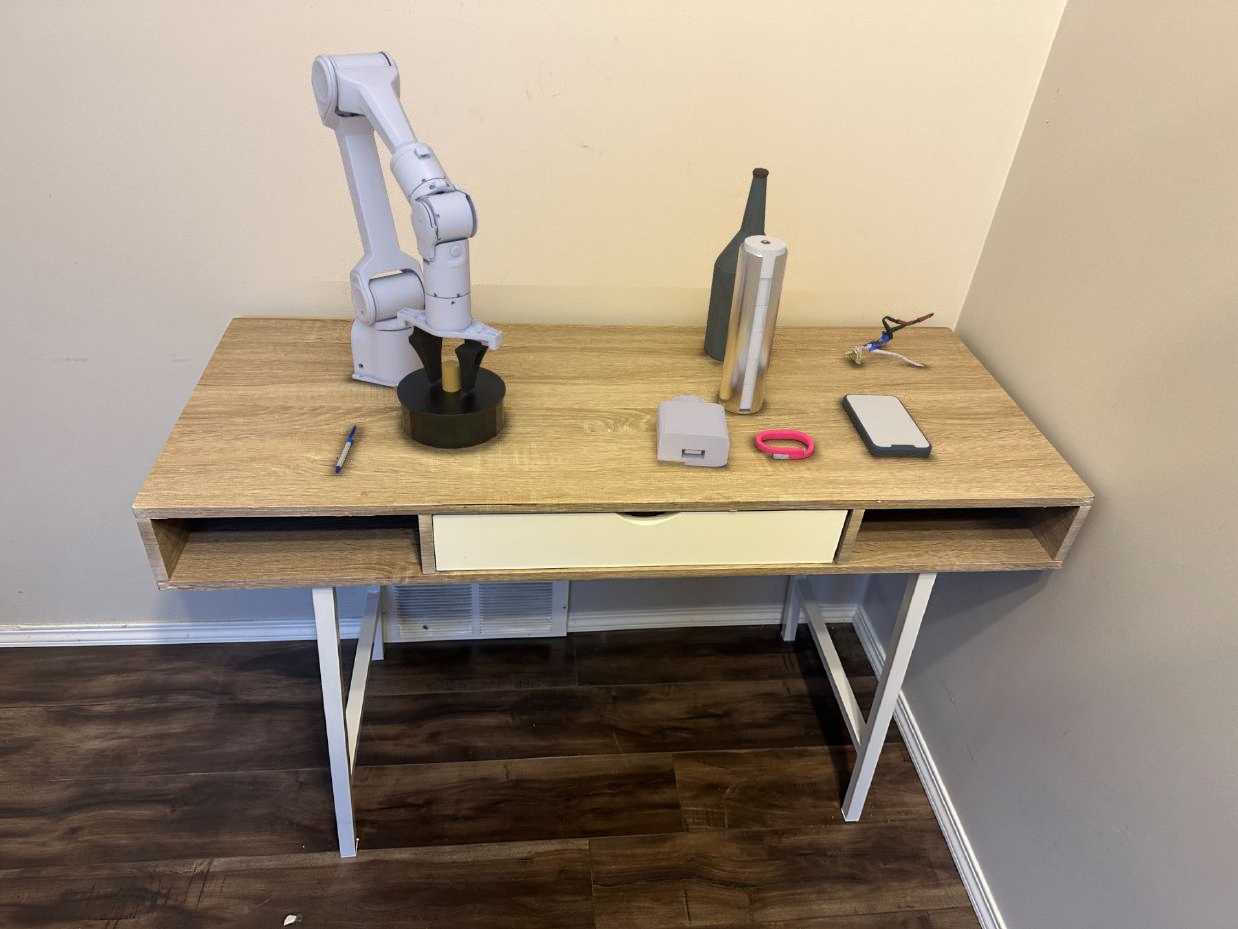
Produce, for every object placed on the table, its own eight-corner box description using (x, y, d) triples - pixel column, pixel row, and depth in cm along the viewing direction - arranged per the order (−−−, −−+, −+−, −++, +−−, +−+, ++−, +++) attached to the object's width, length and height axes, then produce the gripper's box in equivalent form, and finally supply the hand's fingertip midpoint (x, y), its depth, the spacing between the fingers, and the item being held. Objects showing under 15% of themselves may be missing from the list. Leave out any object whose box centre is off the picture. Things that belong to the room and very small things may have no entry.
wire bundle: (825, 389, 154) (925, 347, 157) (851, 398, 146) (955, 353, 149) (810, 332, 151) (912, 291, 154) (835, 338, 143) (943, 294, 146)
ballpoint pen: (351, 429, 122) (351, 423, 121) (358, 430, 122) (357, 423, 121) (334, 473, 113) (333, 467, 112) (342, 473, 113) (341, 467, 113)
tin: (384, 439, 120) (381, 404, 117) (431, 393, 131) (429, 360, 128) (478, 461, 117) (477, 425, 114) (518, 412, 128) (518, 378, 125)
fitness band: (759, 459, 122) (760, 449, 121) (750, 436, 127) (752, 427, 126) (817, 460, 122) (819, 450, 122) (807, 437, 127) (809, 428, 126)
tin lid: (382, 381, 123) (379, 351, 121) (480, 362, 130) (479, 332, 127) (419, 432, 113) (416, 399, 111) (523, 408, 120) (523, 377, 117)
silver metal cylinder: (767, 399, 136) (795, 238, 122) (754, 418, 131) (781, 252, 117) (726, 389, 138) (749, 229, 124) (712, 407, 133) (734, 242, 119)
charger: (717, 411, 132) (726, 467, 119) (654, 407, 132) (656, 463, 119) (721, 382, 129) (730, 437, 117) (657, 378, 129) (659, 433, 117)
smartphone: (838, 402, 137) (870, 458, 124) (840, 393, 136) (873, 448, 123) (895, 403, 138) (933, 459, 124) (897, 394, 137) (936, 449, 123)
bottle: (775, 352, 149) (807, 169, 133) (749, 374, 142) (780, 183, 126) (719, 335, 154) (744, 155, 137) (692, 355, 147) (714, 168, 130)
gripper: (514, 290, 114) (514, 384, 122) (415, 267, 118) (422, 360, 126) (486, 310, 109) (488, 407, 116) (384, 285, 113) (392, 381, 120)
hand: (451, 384), depth 121 cm, fingers open, 5 cm apart
